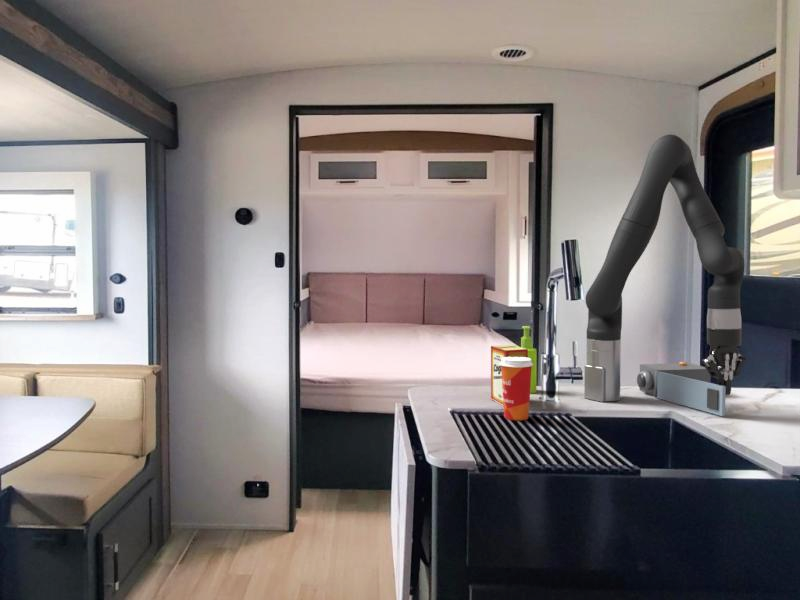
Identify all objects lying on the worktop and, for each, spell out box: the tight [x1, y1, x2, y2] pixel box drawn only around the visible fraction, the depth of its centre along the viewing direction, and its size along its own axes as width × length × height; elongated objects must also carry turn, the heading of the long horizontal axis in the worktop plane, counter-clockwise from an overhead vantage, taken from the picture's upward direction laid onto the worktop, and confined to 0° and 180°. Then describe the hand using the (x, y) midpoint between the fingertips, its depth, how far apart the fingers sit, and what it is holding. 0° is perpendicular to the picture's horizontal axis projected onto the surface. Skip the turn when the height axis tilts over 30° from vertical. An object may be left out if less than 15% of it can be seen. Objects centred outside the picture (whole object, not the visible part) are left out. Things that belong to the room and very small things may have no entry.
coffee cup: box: [500, 357, 533, 421], centre depth 138 cm, size 8×8×15 cm
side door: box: [654, 371, 726, 417], centre depth 146 cm, size 2×22×7 cm, turn 18°
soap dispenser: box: [520, 325, 538, 394], centre depth 168 cm, size 6×7×20 cm
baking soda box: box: [490, 344, 528, 404], centre depth 153 cm, size 10×6×16 cm
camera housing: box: [636, 361, 712, 397], centre depth 163 cm, size 10×18×9 cm, turn 95°
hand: (724, 394), depth 139 cm, fingers closed
